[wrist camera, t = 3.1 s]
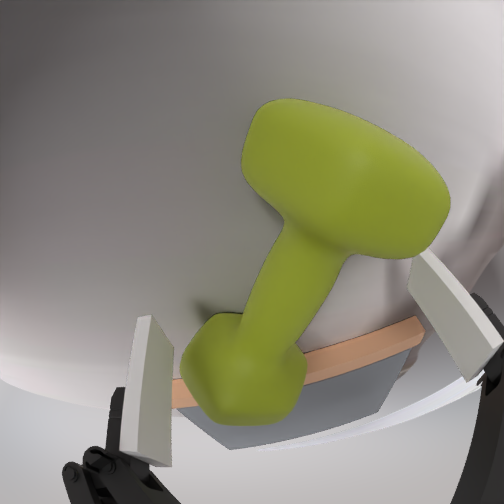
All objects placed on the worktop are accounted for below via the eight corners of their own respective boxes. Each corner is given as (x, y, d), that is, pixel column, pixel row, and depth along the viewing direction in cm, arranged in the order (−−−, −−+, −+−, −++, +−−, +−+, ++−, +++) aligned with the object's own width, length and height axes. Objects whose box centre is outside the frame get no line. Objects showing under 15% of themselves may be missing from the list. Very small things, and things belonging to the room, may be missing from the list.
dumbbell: (252, 78, 10) (306, 78, 4) (393, 141, 12) (494, 204, 7) (176, 333, 19) (174, 429, 13) (279, 345, 21) (300, 428, 15)
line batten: (158, 381, 22) (158, 400, 20) (415, 315, 22) (425, 331, 20) (168, 390, 23) (167, 408, 22) (410, 328, 23) (419, 343, 21)
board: (176, 398, 24) (176, 409, 23) (406, 339, 24) (411, 348, 23) (228, 443, 36) (229, 450, 35) (375, 406, 36) (377, 412, 35)
